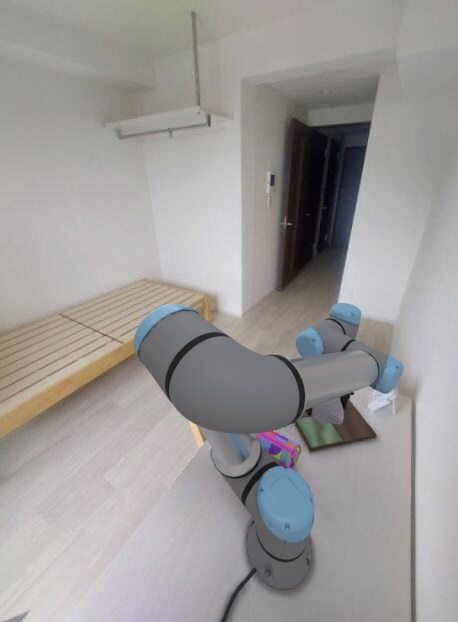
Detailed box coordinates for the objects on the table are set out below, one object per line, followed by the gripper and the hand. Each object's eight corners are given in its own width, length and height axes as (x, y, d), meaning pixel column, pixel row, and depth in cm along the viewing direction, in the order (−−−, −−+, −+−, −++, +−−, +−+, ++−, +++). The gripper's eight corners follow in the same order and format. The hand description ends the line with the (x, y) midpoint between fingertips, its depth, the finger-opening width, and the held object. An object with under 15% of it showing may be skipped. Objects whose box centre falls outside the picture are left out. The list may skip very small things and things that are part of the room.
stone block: (311, 425, 84) (345, 426, 81) (309, 414, 82) (345, 414, 79) (308, 398, 94) (339, 397, 92) (307, 387, 92) (338, 386, 90)
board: (310, 452, 87) (310, 448, 86) (282, 397, 107) (282, 394, 107) (375, 437, 91) (376, 434, 90) (336, 387, 112) (337, 384, 111)
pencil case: (228, 443, 90) (228, 425, 85) (243, 424, 96) (244, 406, 92) (289, 482, 79) (292, 463, 74) (301, 457, 85) (305, 438, 81)
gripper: (303, 370, 71) (295, 425, 82) (382, 357, 75) (365, 411, 86) (292, 353, 78) (285, 406, 88) (365, 342, 82) (351, 394, 92)
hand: (325, 409), depth 87 cm, fingers closed on stone block, 11 cm apart
